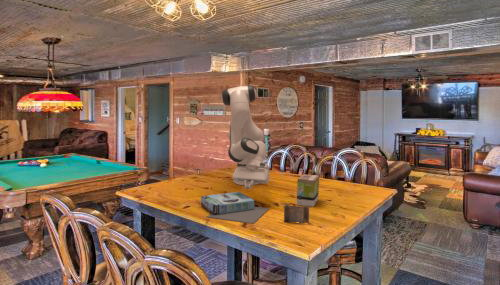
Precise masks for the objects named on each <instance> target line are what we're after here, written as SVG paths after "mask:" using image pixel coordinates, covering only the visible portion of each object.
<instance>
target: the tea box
mask: <svg viewBox="0 0 500 285" xmlns="http://www.w3.org/2000/svg"><path fill="white" fill-rule="evenodd" d="M296 186H297V187H296V201H295V202H296V205H295V206H301V207H314V206H316V204H317V202H318V200H319V192H320V191H319V190H320V187H319V186H320V176H319V175H318V174H317V175H316V174H314V175H313V174H305V173H304V174H303V173H302V174H301V175H300V176H299V177H298V178H297V185H296Z"/></svg>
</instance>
